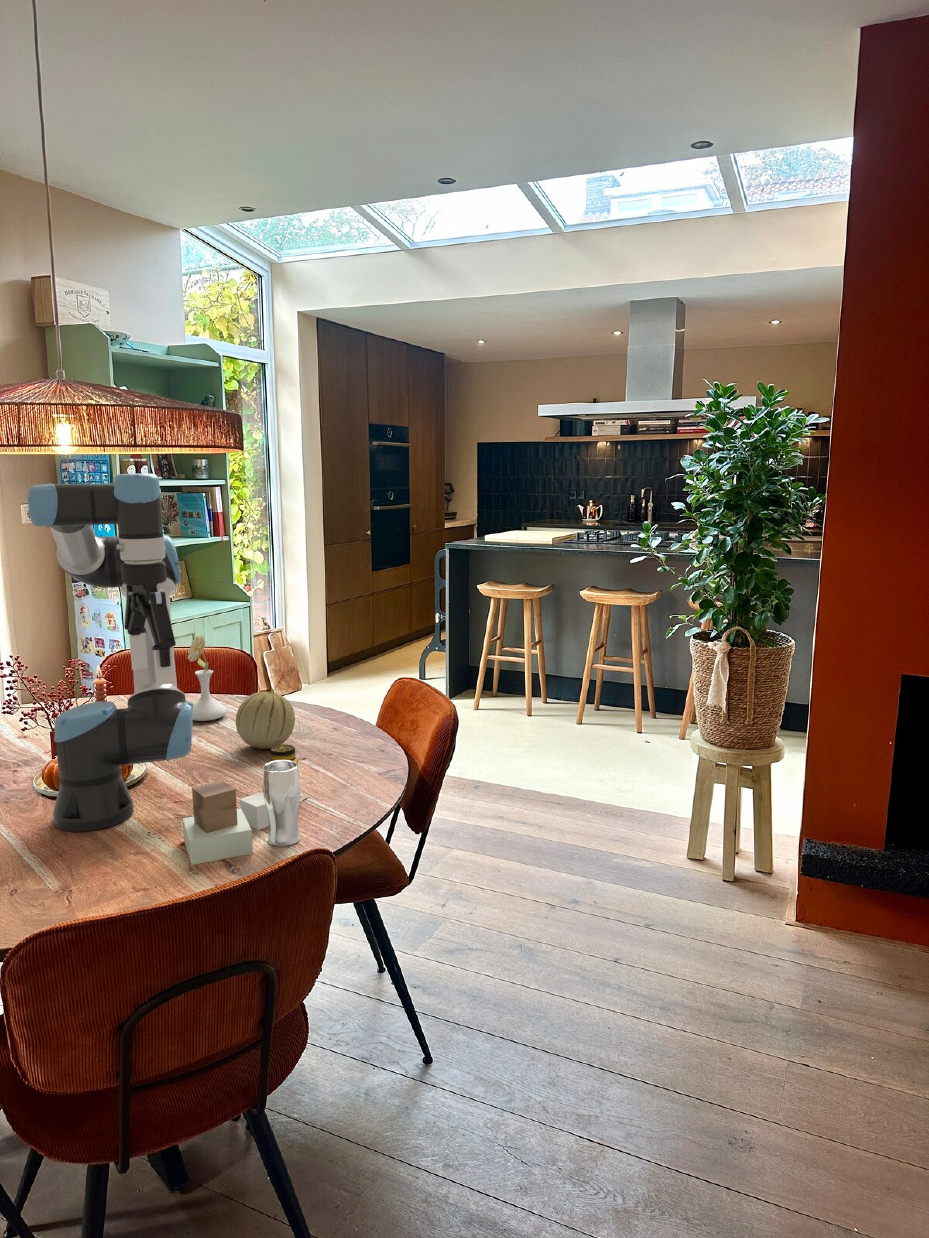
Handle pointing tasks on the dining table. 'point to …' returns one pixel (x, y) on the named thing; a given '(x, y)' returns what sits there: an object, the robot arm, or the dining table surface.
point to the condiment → (284, 757)
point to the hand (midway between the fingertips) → (152, 676)
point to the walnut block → (214, 806)
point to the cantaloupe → (265, 720)
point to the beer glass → (282, 801)
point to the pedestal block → (217, 840)
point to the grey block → (255, 811)
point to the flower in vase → (204, 686)
